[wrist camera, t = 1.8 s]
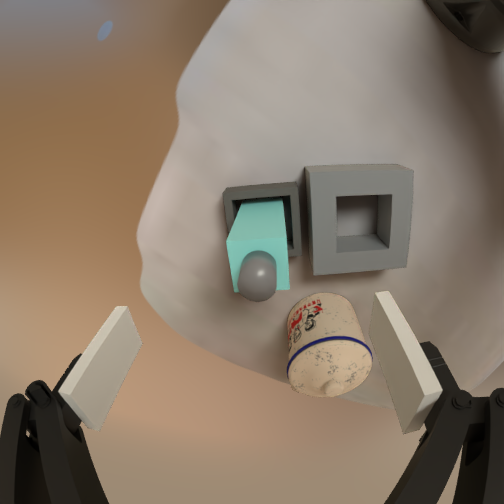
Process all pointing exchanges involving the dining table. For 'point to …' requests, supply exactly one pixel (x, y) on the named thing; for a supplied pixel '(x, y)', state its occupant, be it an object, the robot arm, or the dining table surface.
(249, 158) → the dining table surface
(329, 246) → the port panel
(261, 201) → the aqua plug
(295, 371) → the teacup with lid
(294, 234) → the frame
